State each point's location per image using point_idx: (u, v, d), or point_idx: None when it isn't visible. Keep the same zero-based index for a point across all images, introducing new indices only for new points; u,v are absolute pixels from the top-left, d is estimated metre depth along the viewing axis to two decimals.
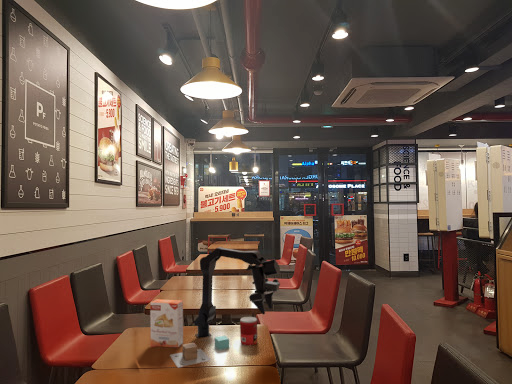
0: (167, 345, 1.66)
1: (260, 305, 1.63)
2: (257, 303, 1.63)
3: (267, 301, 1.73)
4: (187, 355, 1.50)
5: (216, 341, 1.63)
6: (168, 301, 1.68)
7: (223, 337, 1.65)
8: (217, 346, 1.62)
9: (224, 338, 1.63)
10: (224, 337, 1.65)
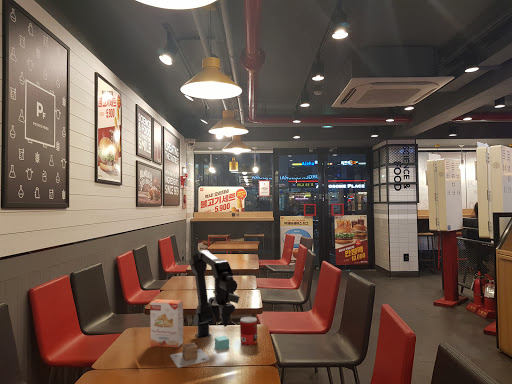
0: (167, 345, 1.66)
1: (226, 317, 1.59)
2: (224, 315, 1.58)
3: (215, 313, 1.68)
4: (187, 355, 1.50)
5: (216, 341, 1.63)
6: (168, 301, 1.68)
7: (223, 337, 1.65)
8: (217, 346, 1.62)
9: (224, 338, 1.63)
10: (224, 337, 1.65)
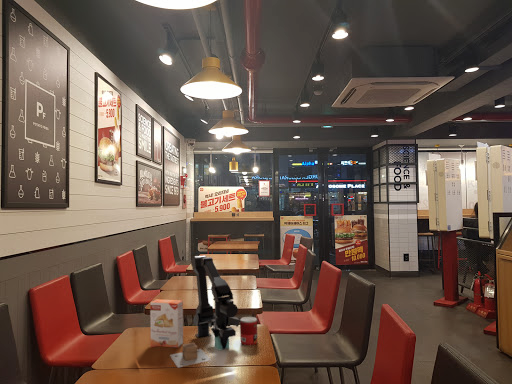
0: (167, 345, 1.66)
1: (224, 340, 1.60)
2: (222, 338, 1.60)
3: None
4: (187, 355, 1.50)
5: (216, 341, 1.63)
6: (168, 301, 1.68)
7: None
8: (217, 346, 1.62)
9: None
10: None
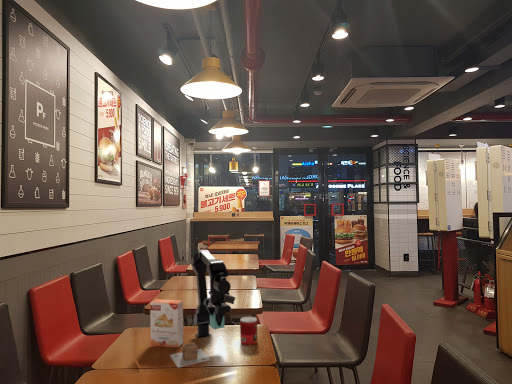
0: (167, 345, 1.66)
1: (220, 317, 1.59)
2: (218, 315, 1.58)
3: None
4: (187, 355, 1.50)
5: (211, 318, 1.62)
6: (168, 301, 1.68)
7: None
8: (212, 323, 1.60)
9: None
10: None
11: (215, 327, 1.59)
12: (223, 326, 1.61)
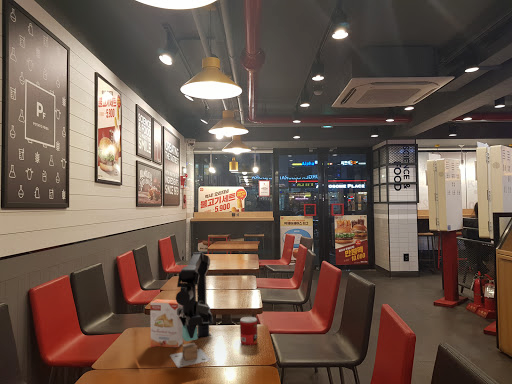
0: (167, 345, 1.66)
1: (192, 328, 1.50)
2: (189, 326, 1.49)
3: None
4: (187, 355, 1.50)
5: (183, 329, 1.52)
6: (168, 301, 1.68)
7: None
8: (184, 335, 1.51)
9: None
10: None
11: (187, 339, 1.50)
12: (196, 338, 1.52)
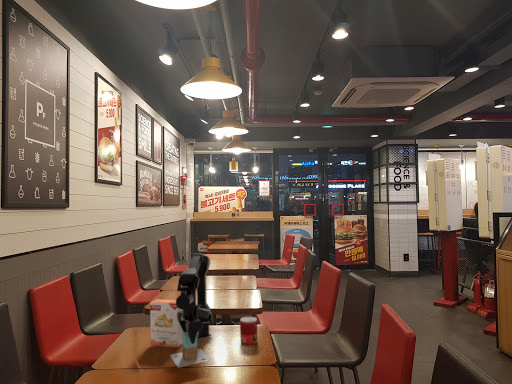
0: (167, 345, 1.66)
1: (193, 334, 1.48)
2: (191, 332, 1.48)
3: (184, 328, 1.57)
4: (187, 355, 1.50)
5: (183, 336, 1.52)
6: (168, 301, 1.68)
7: None
8: (184, 342, 1.51)
9: None
10: None
11: (187, 346, 1.50)
12: (196, 345, 1.52)
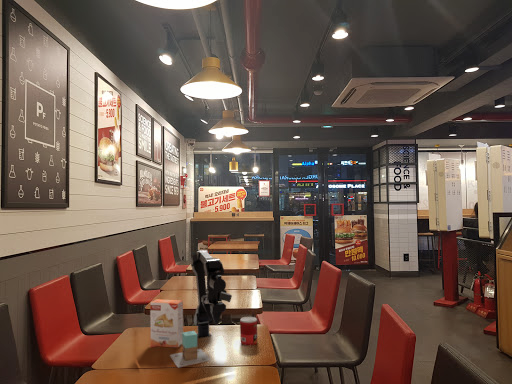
0: (167, 345, 1.66)
1: (217, 316, 1.59)
2: (215, 313, 1.59)
3: (208, 311, 1.68)
4: (187, 355, 1.50)
5: (183, 336, 1.52)
6: (168, 301, 1.68)
7: (191, 332, 1.54)
8: (184, 342, 1.51)
9: (192, 333, 1.53)
10: (192, 332, 1.54)
11: (187, 346, 1.50)
12: (196, 345, 1.52)
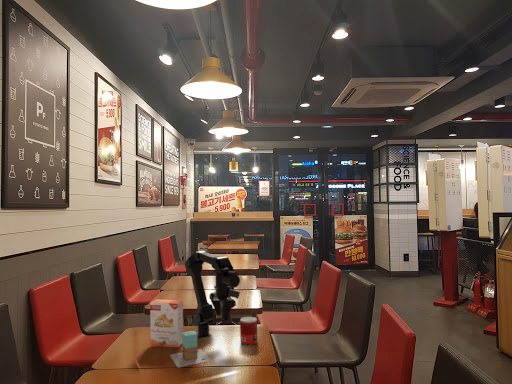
0: (167, 345, 1.66)
1: (226, 312, 1.64)
2: (224, 309, 1.63)
3: (216, 308, 1.72)
4: (187, 355, 1.50)
5: (183, 336, 1.52)
6: (168, 301, 1.68)
7: (191, 332, 1.54)
8: (184, 342, 1.51)
9: (192, 333, 1.53)
10: (192, 332, 1.54)
11: (187, 346, 1.50)
12: (196, 345, 1.52)
